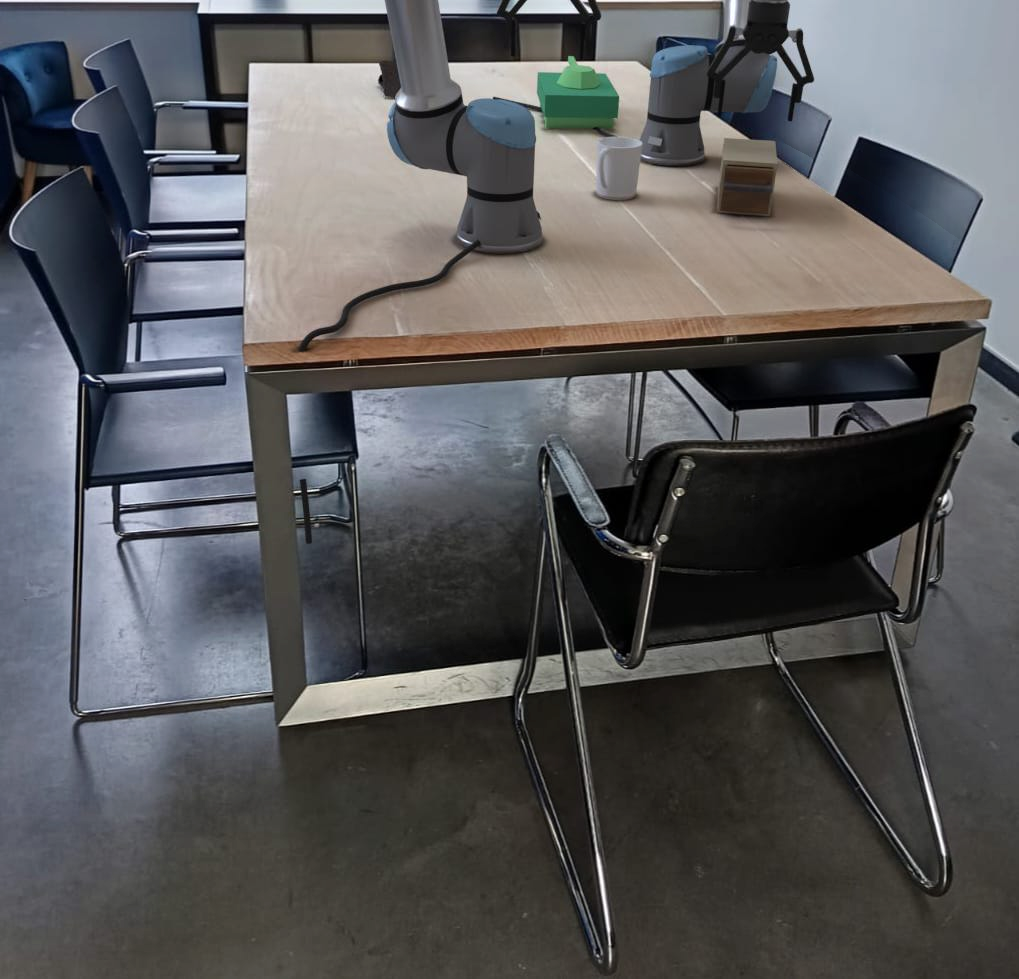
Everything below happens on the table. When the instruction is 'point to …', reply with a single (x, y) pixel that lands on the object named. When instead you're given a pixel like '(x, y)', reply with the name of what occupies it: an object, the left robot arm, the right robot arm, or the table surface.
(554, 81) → the toy tank
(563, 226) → the table surface
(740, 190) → the drawer
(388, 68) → the axe head
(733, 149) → the cabinet
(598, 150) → the mug
